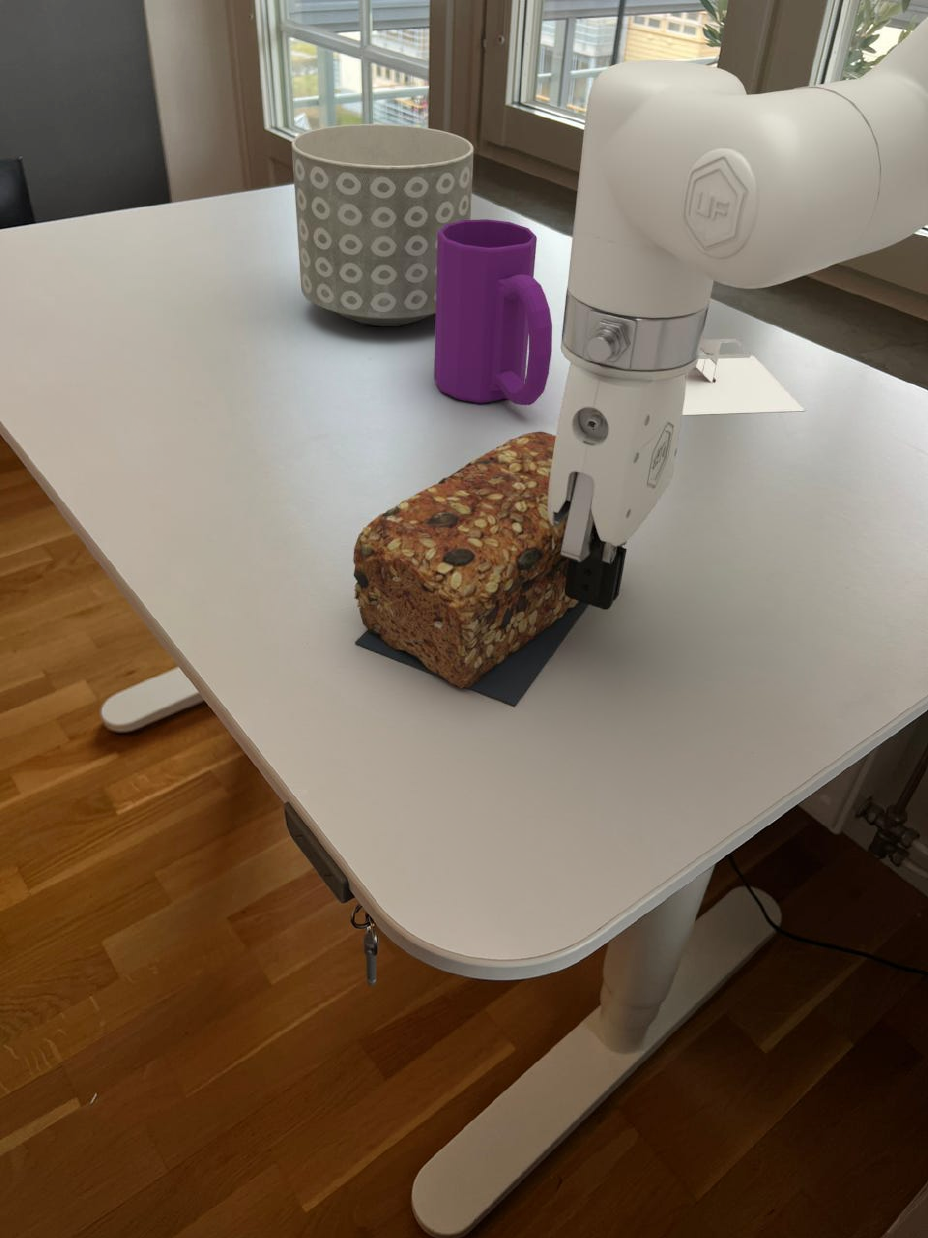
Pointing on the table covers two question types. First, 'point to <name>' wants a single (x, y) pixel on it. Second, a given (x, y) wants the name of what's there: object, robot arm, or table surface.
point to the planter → (377, 216)
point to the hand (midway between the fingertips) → (591, 596)
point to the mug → (490, 314)
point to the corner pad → (504, 677)
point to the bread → (467, 563)
